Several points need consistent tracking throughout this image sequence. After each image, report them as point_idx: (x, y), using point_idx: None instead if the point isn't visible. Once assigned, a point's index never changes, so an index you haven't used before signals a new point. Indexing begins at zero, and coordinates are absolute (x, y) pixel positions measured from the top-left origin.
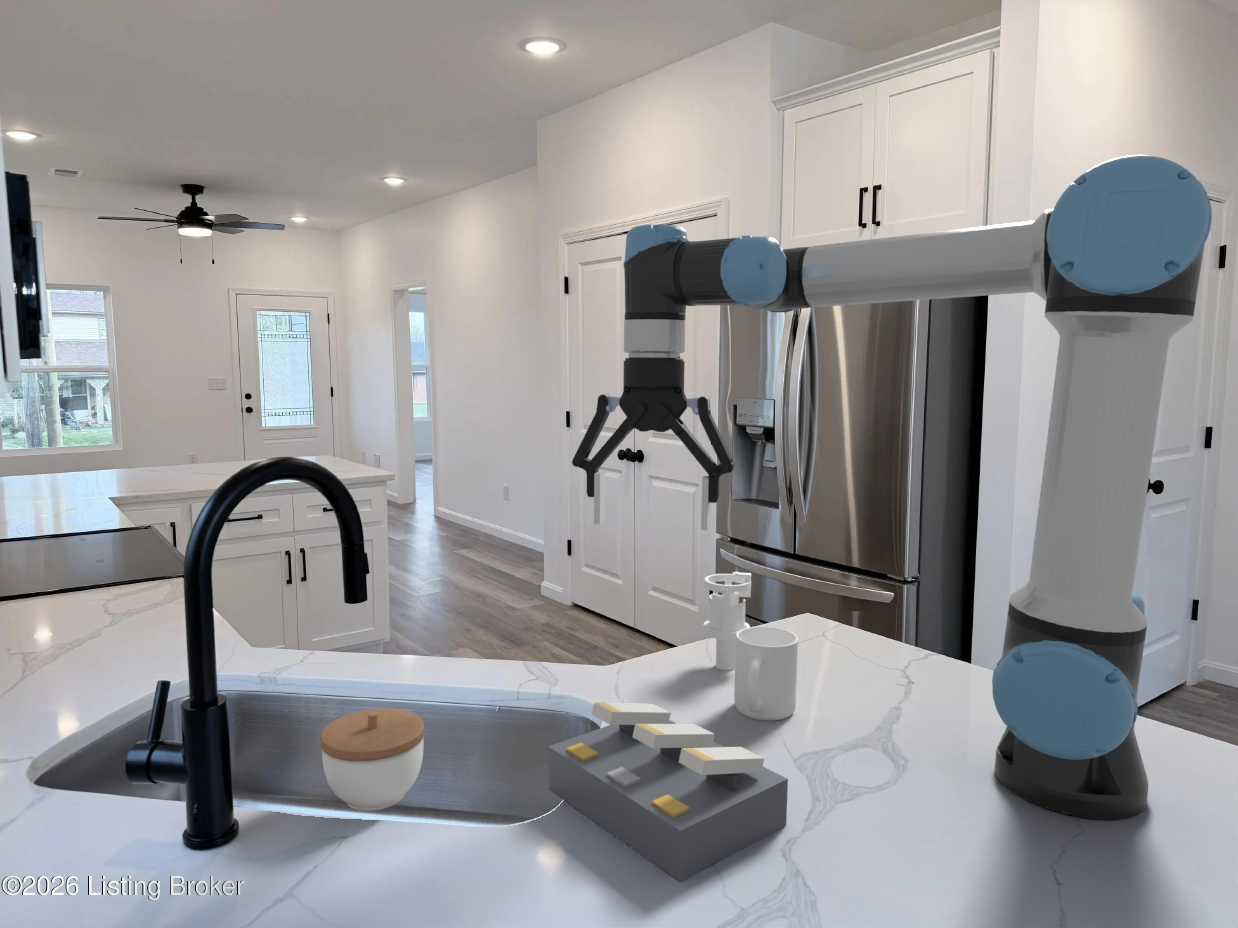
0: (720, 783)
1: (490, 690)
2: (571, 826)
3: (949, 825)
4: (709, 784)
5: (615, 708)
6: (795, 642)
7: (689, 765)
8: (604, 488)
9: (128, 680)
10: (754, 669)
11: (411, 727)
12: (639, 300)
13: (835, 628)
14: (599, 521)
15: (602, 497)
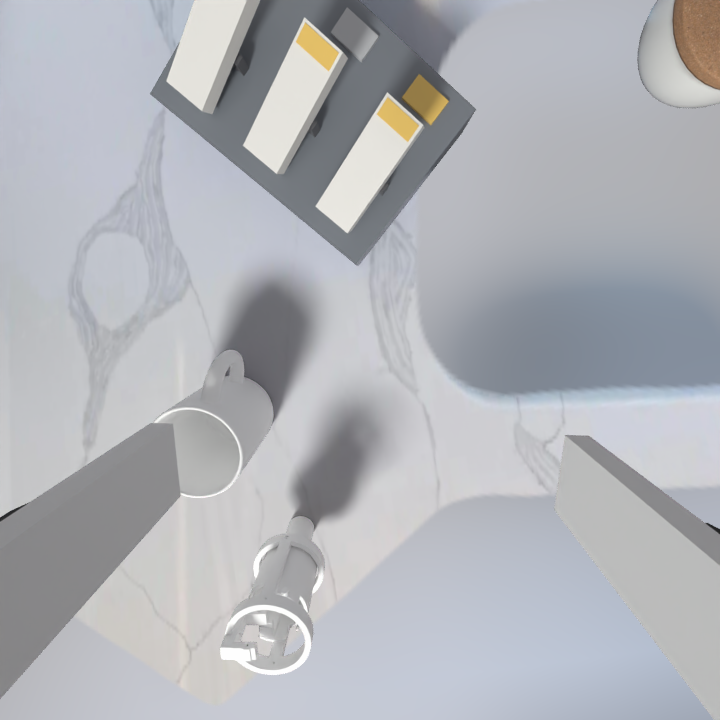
0: None
1: (601, 394)
2: (415, 51)
3: (20, 164)
4: (242, 49)
5: (386, 121)
6: None
7: None
8: (645, 617)
9: None
10: (213, 369)
11: (704, 9)
12: None
13: (177, 674)
14: (572, 440)
15: (624, 544)
